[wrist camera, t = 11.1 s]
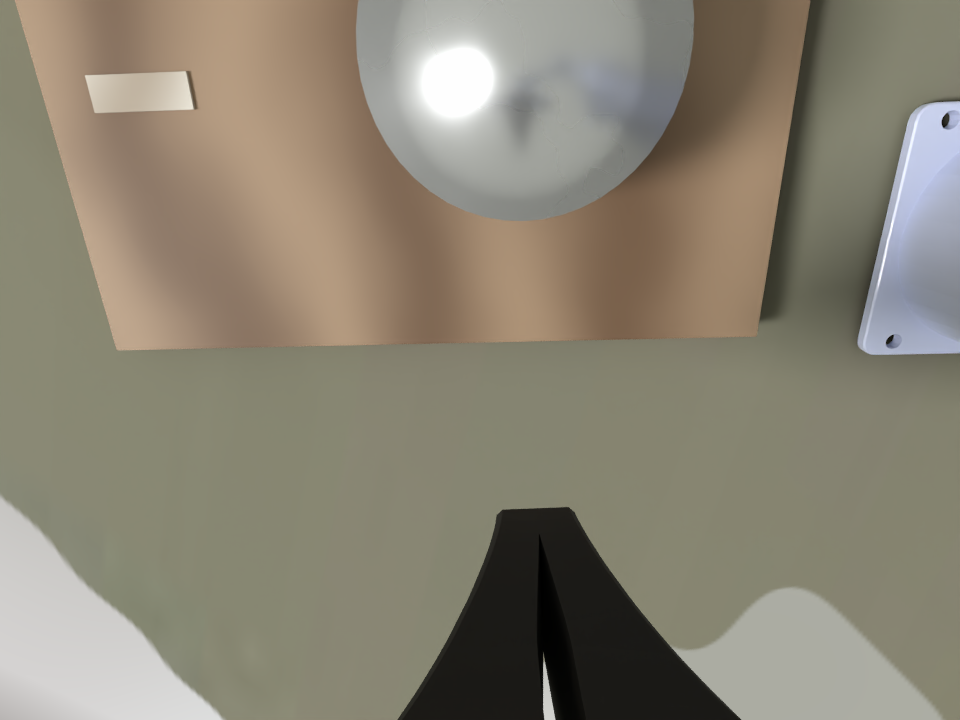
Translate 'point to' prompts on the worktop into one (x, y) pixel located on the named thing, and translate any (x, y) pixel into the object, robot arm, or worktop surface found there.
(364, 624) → the worktop surface
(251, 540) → the worktop surface
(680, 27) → the grey lever with knob
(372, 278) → the post board
